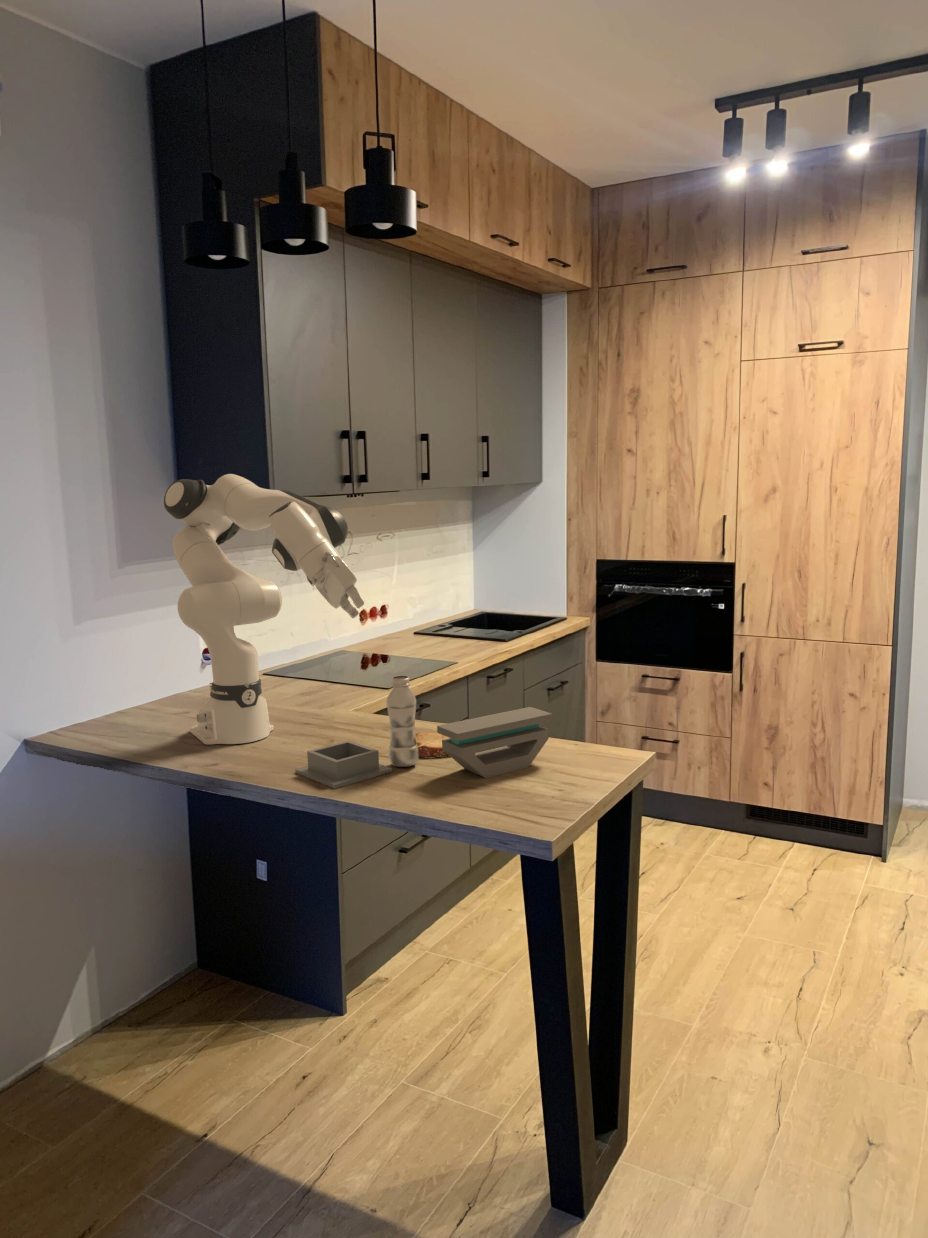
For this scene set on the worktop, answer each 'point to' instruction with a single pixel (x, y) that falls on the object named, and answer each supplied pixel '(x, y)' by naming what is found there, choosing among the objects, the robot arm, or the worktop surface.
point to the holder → (342, 764)
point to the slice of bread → (430, 744)
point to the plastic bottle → (402, 723)
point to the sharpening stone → (496, 741)
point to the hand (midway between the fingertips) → (358, 611)
